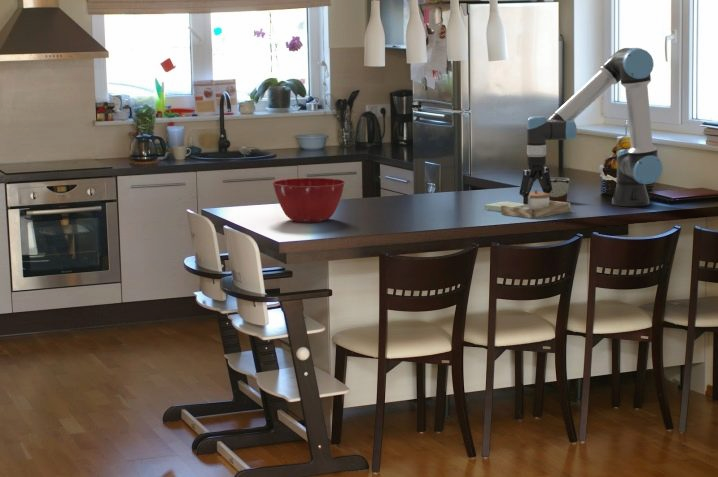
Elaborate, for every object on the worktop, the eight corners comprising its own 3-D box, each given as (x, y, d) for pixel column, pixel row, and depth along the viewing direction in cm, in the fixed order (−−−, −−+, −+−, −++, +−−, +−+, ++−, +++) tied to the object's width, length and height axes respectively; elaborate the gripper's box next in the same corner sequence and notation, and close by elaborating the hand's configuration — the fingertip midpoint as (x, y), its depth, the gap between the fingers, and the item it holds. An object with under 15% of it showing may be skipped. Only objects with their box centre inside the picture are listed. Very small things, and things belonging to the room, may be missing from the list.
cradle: (570, 211, 466) (570, 202, 466) (533, 218, 451) (533, 209, 450) (537, 207, 478) (537, 199, 478) (501, 214, 463) (501, 205, 462)
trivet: (529, 209, 475) (529, 204, 475) (508, 212, 466) (508, 207, 466) (504, 206, 484) (504, 201, 484) (484, 209, 476) (484, 204, 475)
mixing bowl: (306, 212, 475) (306, 175, 473) (360, 218, 458) (360, 179, 455) (258, 222, 454) (257, 182, 451) (313, 228, 436) (312, 187, 433)
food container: (569, 200, 498) (569, 177, 496) (570, 202, 492) (570, 178, 490) (540, 200, 499) (540, 177, 497) (541, 202, 493) (541, 179, 491)
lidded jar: (528, 215, 458) (529, 192, 456) (518, 211, 468) (518, 188, 467) (553, 214, 461) (554, 190, 459) (542, 210, 471) (542, 187, 469)
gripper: (546, 152, 471) (546, 206, 475) (510, 157, 455) (510, 212, 459) (561, 153, 466) (561, 208, 469) (525, 158, 450) (524, 214, 454)
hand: (535, 210), depth 464 cm, fingers closed on lidded jar, 11 cm apart
